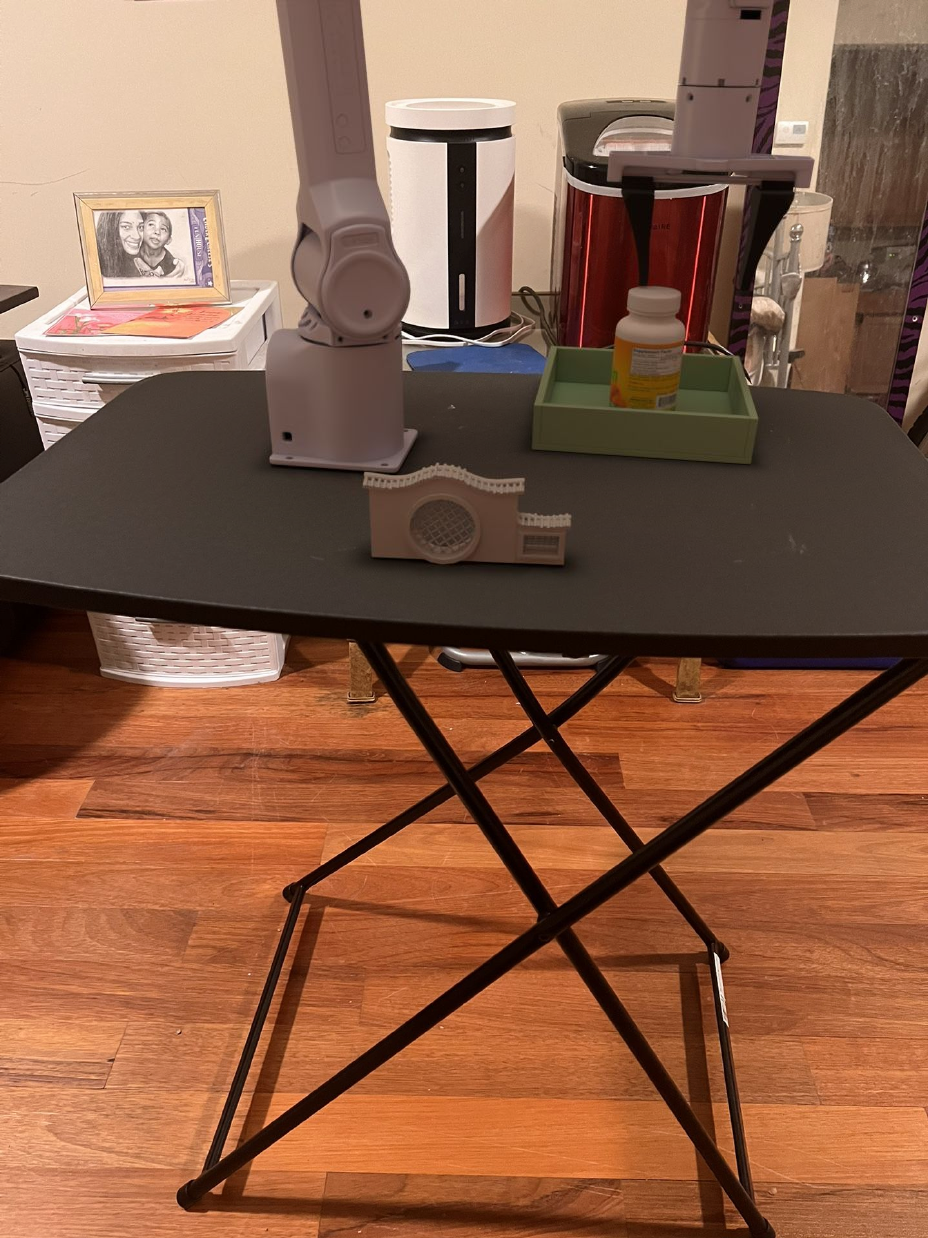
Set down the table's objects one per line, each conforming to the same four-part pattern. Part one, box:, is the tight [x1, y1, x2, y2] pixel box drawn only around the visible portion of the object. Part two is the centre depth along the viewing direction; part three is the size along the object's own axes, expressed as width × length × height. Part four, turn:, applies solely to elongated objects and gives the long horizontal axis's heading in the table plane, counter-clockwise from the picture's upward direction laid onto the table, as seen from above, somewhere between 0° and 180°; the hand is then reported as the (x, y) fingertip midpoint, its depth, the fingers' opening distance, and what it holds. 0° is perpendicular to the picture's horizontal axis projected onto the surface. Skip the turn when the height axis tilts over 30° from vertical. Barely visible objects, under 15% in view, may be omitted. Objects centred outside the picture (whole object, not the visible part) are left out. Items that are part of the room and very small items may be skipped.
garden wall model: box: [362, 462, 572, 566], centre depth 57 cm, size 12×2×6 cm, turn 86°
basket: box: [531, 345, 760, 465], centre depth 79 cm, size 16×16×4 cm
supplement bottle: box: [609, 285, 686, 411], centre depth 77 cm, size 5×5×10 cm
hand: (692, 285), depth 75 cm, fingers open, 7 cm apart
